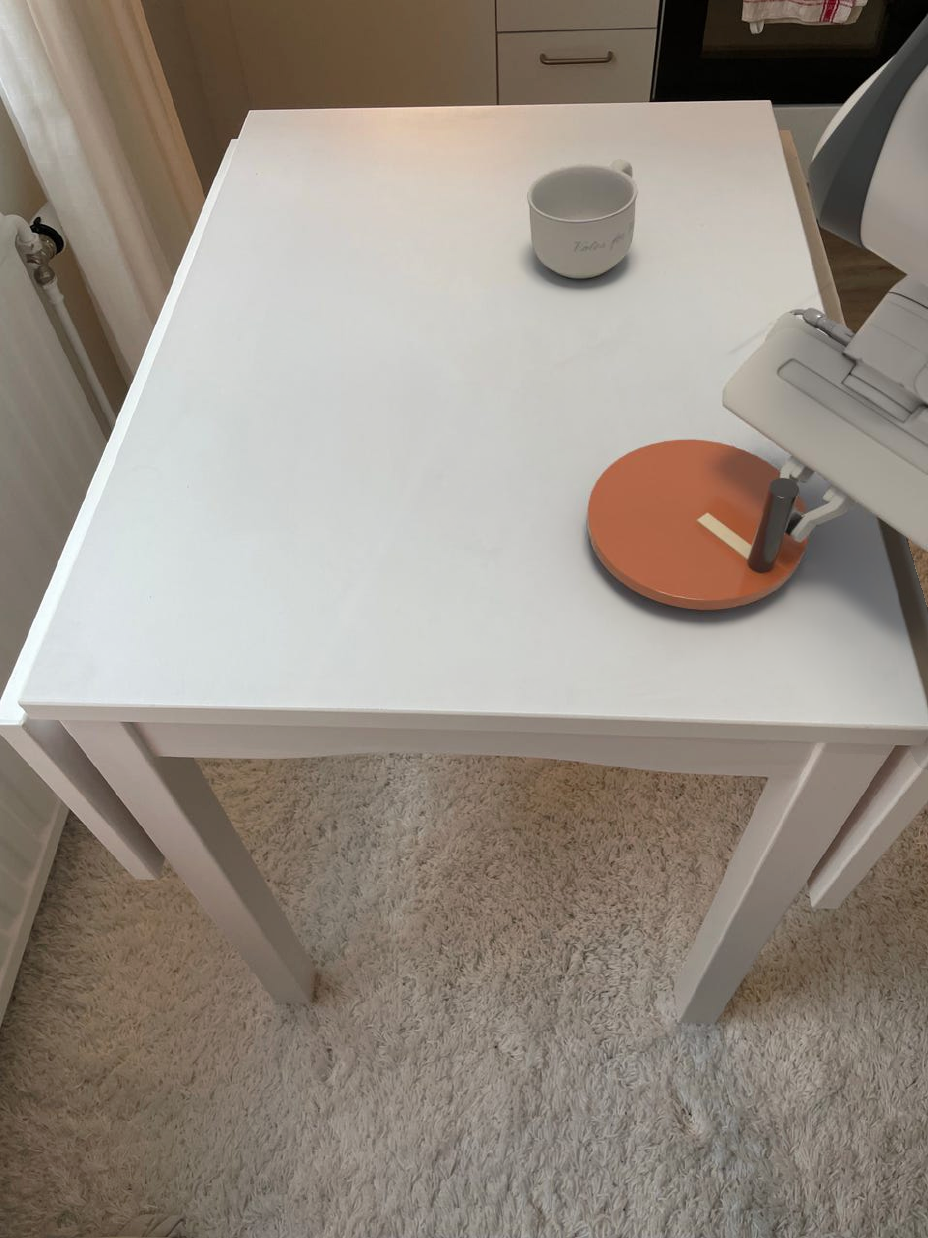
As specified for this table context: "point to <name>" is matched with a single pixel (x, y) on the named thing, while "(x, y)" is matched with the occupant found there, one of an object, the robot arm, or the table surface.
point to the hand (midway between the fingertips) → (781, 529)
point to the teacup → (583, 217)
